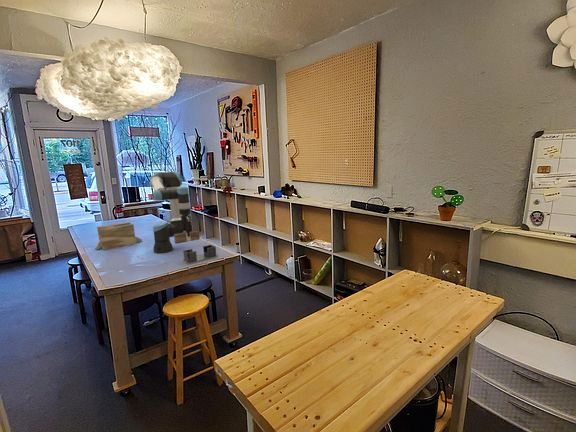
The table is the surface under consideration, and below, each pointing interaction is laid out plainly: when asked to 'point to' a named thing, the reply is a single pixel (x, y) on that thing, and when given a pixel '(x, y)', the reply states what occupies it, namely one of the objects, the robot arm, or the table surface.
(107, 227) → the wall bracket
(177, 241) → the rail
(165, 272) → the table surface
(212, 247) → the grey rectangular holder
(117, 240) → the cradle
